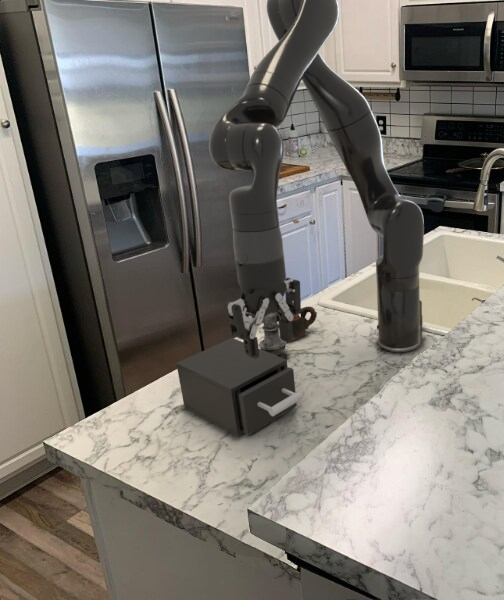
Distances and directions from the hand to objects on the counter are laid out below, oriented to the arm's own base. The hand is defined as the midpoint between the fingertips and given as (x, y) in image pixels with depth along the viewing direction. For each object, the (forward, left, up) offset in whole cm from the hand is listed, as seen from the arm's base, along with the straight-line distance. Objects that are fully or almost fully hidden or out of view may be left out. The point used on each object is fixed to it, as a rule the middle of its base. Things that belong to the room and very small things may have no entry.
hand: (270, 348), depth 102 cm
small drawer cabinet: (0, -11, -16) cm, 19 cm away
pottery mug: (-28, -26, -16) cm, 42 cm away
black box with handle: (0, -6, -15) cm, 16 cm away
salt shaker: (-17, -20, -16) cm, 31 cm away
